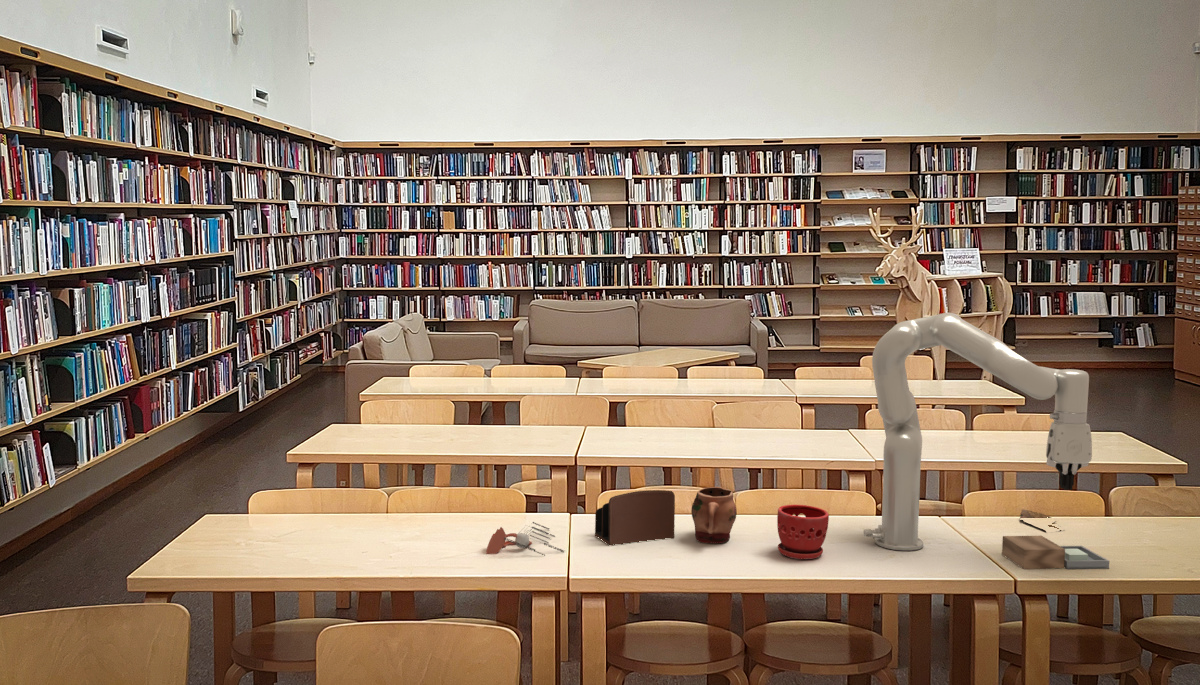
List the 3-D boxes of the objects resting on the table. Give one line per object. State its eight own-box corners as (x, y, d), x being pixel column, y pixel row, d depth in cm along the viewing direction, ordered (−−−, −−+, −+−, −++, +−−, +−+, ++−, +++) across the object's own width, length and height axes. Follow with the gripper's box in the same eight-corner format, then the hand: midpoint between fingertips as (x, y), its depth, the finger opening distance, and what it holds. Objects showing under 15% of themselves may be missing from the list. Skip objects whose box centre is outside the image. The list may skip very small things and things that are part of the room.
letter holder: (675, 538, 282) (675, 488, 281) (609, 546, 274) (609, 495, 273) (658, 529, 291) (659, 480, 290) (594, 536, 283) (594, 486, 282)
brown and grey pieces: (498, 530, 262) (499, 501, 287) (485, 560, 263) (486, 529, 288) (572, 559, 265) (566, 528, 290) (558, 589, 266) (553, 556, 290)
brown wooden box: (1023, 569, 258) (1024, 549, 258) (1001, 554, 270) (1002, 536, 270) (1064, 568, 259) (1065, 549, 258) (1040, 554, 271) (1041, 535, 270)
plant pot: (787, 564, 260) (788, 517, 259) (769, 548, 273) (770, 504, 272) (835, 561, 263) (837, 515, 262) (815, 546, 276) (816, 502, 275)
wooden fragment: (1068, 534, 290) (1068, 531, 290) (1027, 532, 292) (1027, 529, 292) (1046, 512, 315) (1046, 508, 315) (1008, 510, 317) (1008, 506, 317)
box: (1066, 569, 258) (1067, 561, 258) (1041, 553, 271) (1041, 546, 271) (1108, 568, 259) (1109, 560, 259) (1081, 553, 272) (1081, 545, 272)
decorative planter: (737, 553, 269) (738, 501, 268) (690, 551, 270) (691, 499, 269) (734, 531, 289) (735, 483, 288) (690, 530, 290) (691, 481, 289)
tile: (1088, 554, 263) (1087, 562, 263) (1077, 548, 267) (1076, 556, 268) (1069, 554, 262) (1069, 562, 262) (1059, 548, 267) (1058, 556, 267)
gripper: (1049, 420, 257) (1045, 492, 259) (1106, 420, 258) (1102, 492, 260) (1034, 415, 265) (1030, 485, 267) (1090, 415, 266) (1086, 485, 268)
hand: (1066, 488), depth 263 cm, fingers closed
